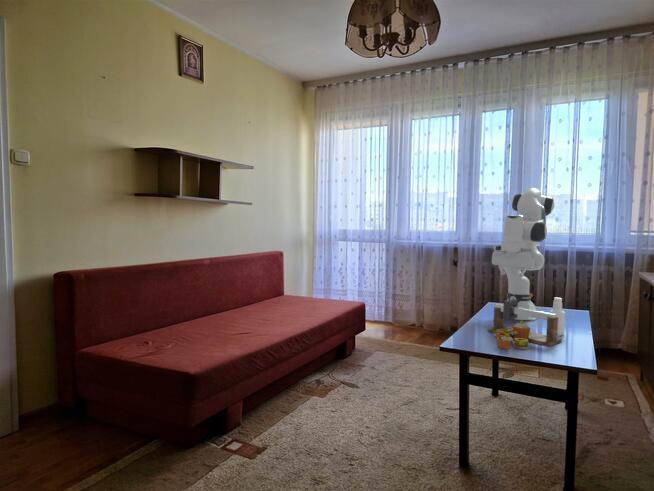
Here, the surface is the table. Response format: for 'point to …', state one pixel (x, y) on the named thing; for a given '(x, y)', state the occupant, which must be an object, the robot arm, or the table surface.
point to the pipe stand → (551, 318)
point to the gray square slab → (507, 309)
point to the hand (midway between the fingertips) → (511, 275)
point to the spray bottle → (559, 314)
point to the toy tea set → (520, 337)
